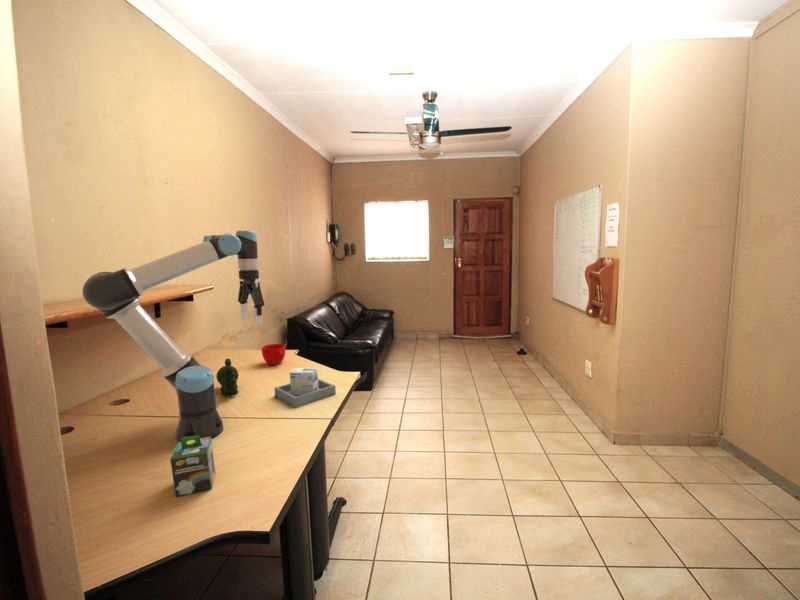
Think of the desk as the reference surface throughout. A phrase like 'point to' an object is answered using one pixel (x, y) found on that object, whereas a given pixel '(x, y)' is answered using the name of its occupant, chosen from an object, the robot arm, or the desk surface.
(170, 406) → the desk surface
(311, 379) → the light bulb box
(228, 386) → the toy figurine
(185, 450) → the chalk box
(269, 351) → the ceramic cup
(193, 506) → the desk surface
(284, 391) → the gray tray
